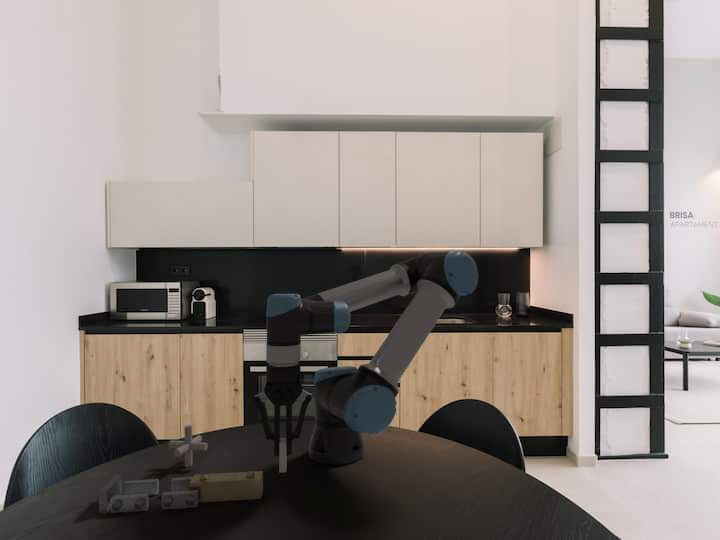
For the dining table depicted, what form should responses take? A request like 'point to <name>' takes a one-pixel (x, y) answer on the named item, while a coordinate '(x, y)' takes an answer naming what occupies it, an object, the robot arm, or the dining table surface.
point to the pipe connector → (188, 445)
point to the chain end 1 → (127, 495)
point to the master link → (228, 486)
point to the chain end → (180, 495)
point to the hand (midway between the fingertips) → (283, 469)
